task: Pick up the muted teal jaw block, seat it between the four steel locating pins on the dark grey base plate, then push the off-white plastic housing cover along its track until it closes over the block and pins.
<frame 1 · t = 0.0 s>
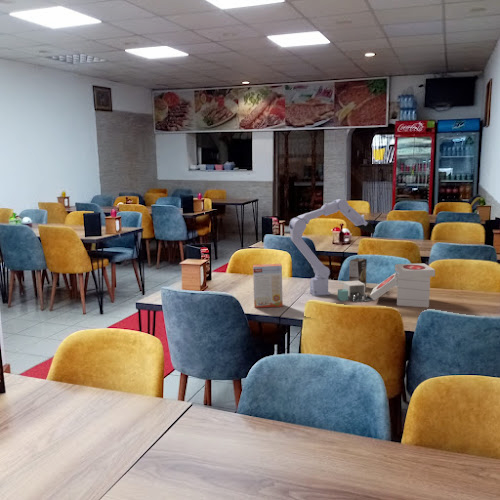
hand: (370, 231, 278), 32 cm above the table, tool tilted 50°, fingers open, 7 cm apart
jaw block: (342, 299, 266), on the table
housing cover: (353, 288, 273), point 4 cm above the table, slide at 0.0 cm
coffee box: (357, 288, 288), on the table
cracker box: (268, 306, 258), on the table
pin base: (356, 297, 270), on the table
pizza box stack: (401, 302, 260), on the table
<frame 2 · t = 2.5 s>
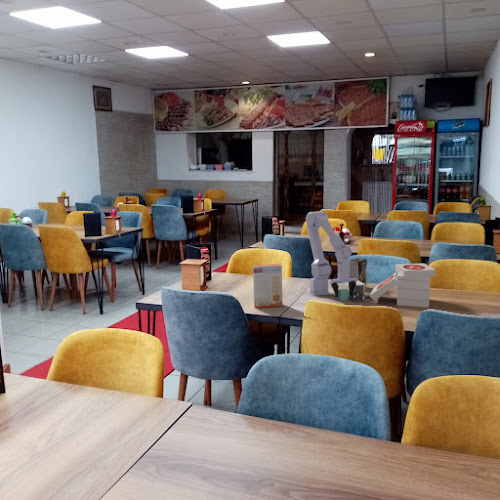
hand: (343, 296, 266), 2 cm above the table, tool pointing down, fingers open, 7 cm apart
housing cover: (353, 288, 273), point 4 cm above the table, slide at -0.1 cm, touching gripper
everything else where it was.
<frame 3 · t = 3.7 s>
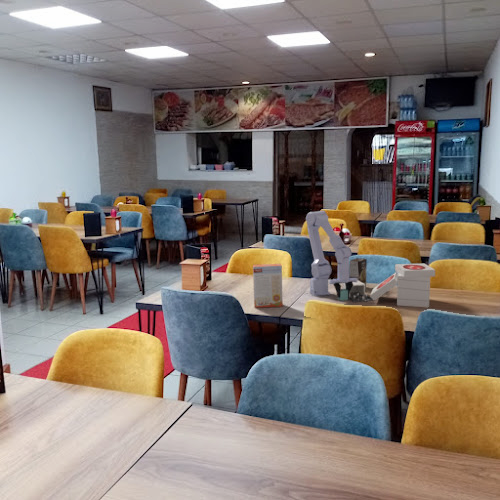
hand: (343, 296, 266), 1 cm above the table, tool pointing down, fingers closed on jaw block, 4 cm apart
jaw block: (342, 299, 267), on the table, touching gripper
everything else where it was.
when the fingers open (4 cm above the table, at t = 6.5 s): jaw block drops 2 cm, resting on pin base.
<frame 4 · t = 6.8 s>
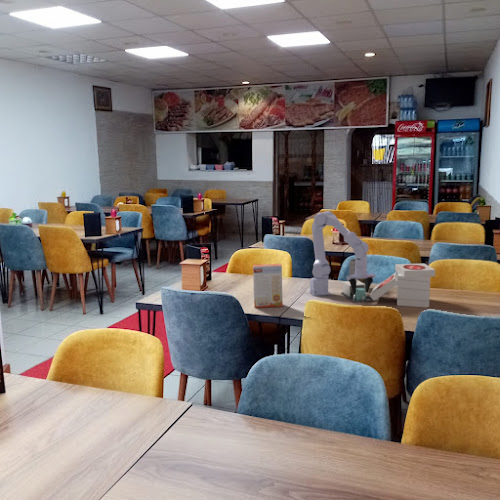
hand: (360, 292, 265), 4 cm above the table, tool pointing down, fingers open, 6 cm apart
jaw block: (360, 298, 266), resting on pin base
housing cover: (353, 288, 273), point 4 cm above the table, slide at 0.0 cm
everything else where it was.
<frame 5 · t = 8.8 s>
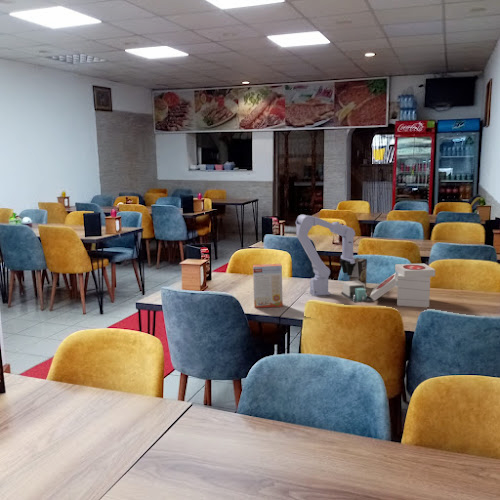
hand: (347, 274, 280), 9 cm above the table, tool pointing down, fingers open, 5 cm apart
nothing on the table moved.
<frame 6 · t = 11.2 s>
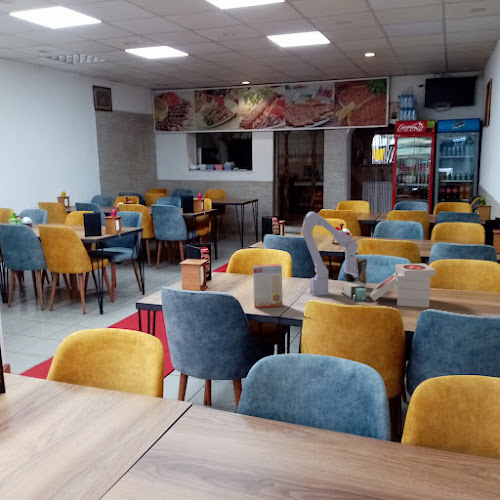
hand: (350, 287, 277), 3 cm above the table, tool pointing down, fingers closed
housing cover: (355, 289, 272), point 4 cm above the table, slide at 1.5 cm, touching gripper
everything else where it was.
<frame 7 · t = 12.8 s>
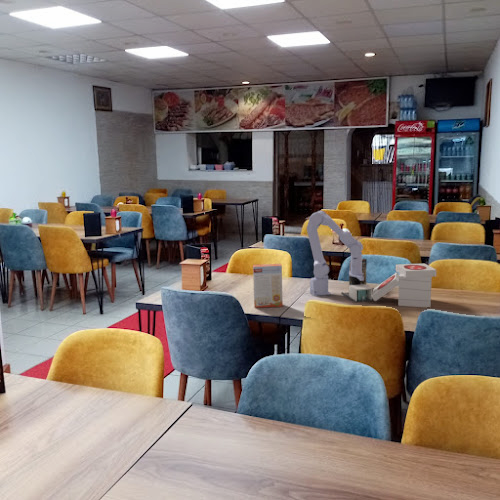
hand: (355, 291, 271), 3 cm above the table, tool pointing down, fingers closed
housing cover: (360, 292, 265), point 4 cm above the table, slide at 8.4 cm, touching gripper, pin base
everything else where it was.
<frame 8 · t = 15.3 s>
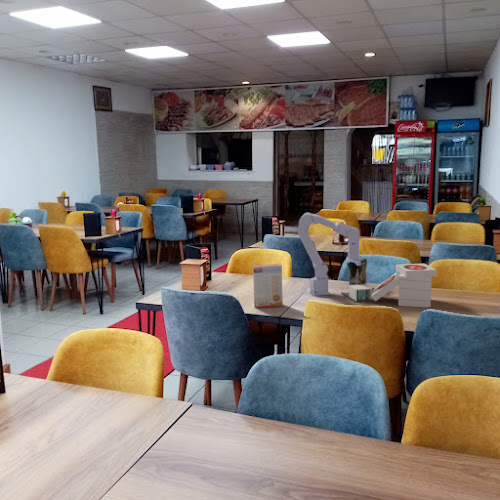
hand: (353, 276, 273), 10 cm above the table, tool pointing down, fingers closed
housing cover: (360, 292, 265), point 4 cm above the table, slide at 8.4 cm, touching pin base
everything else where it was.
at the end: jaw block 0.2 cm from the target spot on the pin base, point 0.4 cm above the pin base's base; jaw block tilted 0°; housing cover slide at 8.4 cm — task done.
